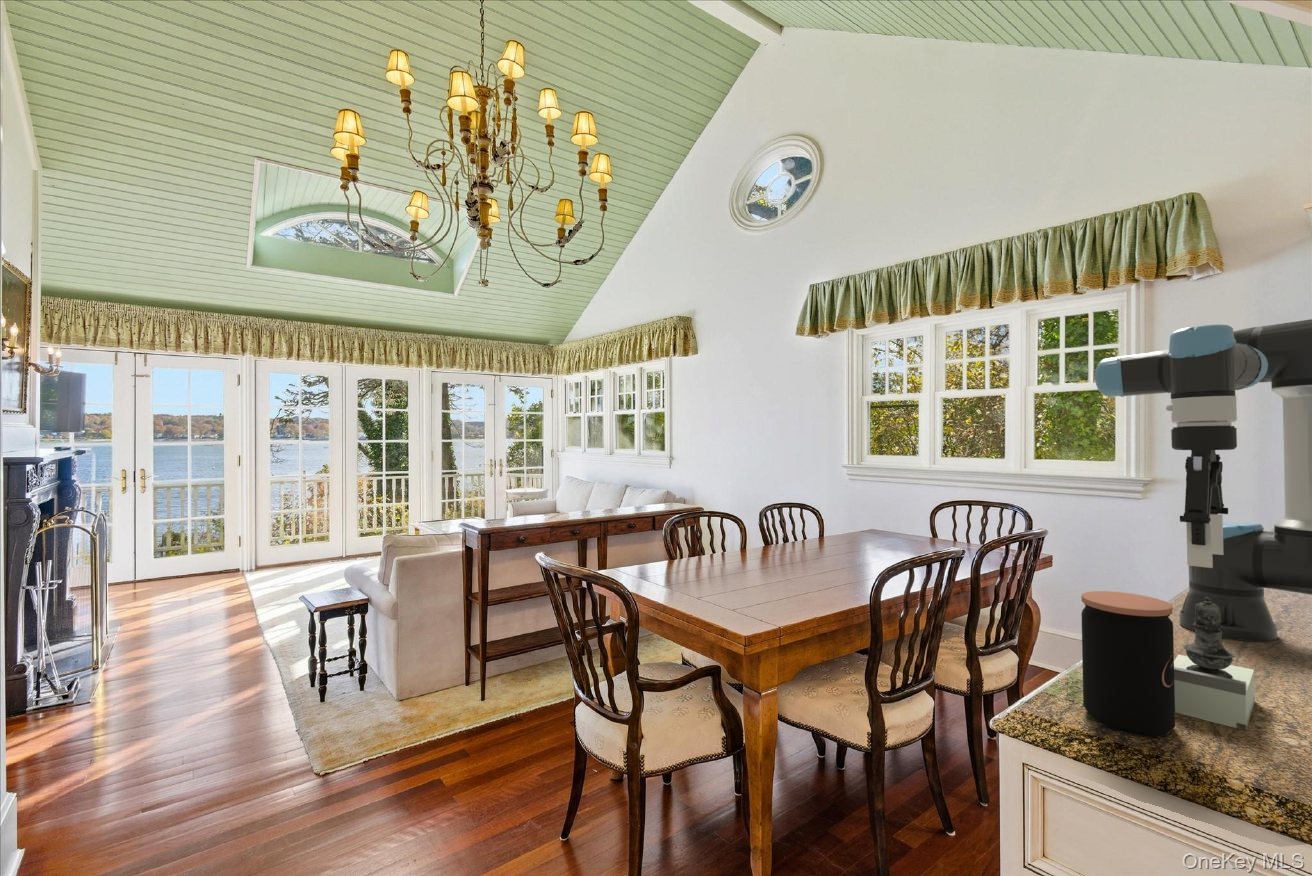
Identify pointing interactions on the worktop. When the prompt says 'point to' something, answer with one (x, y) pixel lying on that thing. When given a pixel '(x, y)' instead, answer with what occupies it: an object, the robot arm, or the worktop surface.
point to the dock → (1214, 694)
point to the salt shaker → (1208, 642)
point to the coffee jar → (1128, 662)
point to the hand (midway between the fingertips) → (1206, 559)
